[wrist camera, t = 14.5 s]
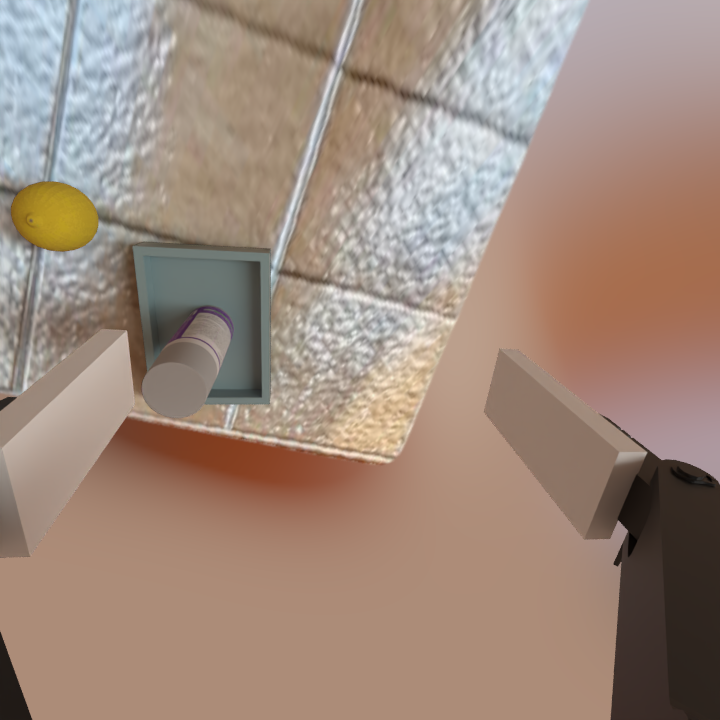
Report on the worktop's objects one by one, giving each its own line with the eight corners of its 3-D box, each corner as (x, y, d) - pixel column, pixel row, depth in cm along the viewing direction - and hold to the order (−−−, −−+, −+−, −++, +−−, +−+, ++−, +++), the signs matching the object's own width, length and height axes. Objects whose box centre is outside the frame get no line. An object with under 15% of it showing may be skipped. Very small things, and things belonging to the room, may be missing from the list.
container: (199, 354, 45) (158, 428, 32) (178, 313, 43) (126, 373, 30) (241, 340, 45) (219, 407, 32) (223, 298, 43) (191, 351, 30)
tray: (142, 241, 41) (132, 246, 39) (270, 248, 43) (269, 253, 41) (159, 391, 47) (151, 404, 44) (270, 392, 49) (269, 404, 46)
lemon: (78, 168, 38) (28, 165, 31) (125, 223, 41) (88, 231, 33) (31, 204, 39) (-29, 209, 32) (79, 256, 41) (33, 272, 34)
